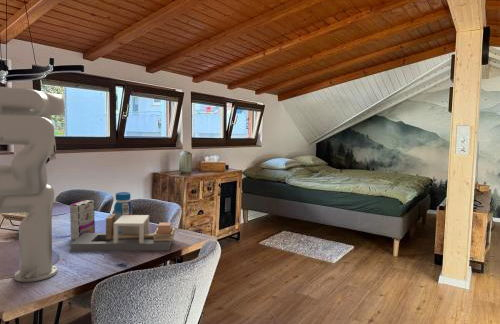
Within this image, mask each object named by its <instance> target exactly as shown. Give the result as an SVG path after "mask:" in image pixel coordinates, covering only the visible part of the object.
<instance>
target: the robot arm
mask: <svg viewBox="0 0 500 324" xmlns="http://www.w3.org/2000/svg"><path fill="white" fill-rule="evenodd" d="M65 104H66V103H65V99H64V98H63V95H62V94H57V93H51V92H46V91H42V90H41V91H40V90H37V89H33V88H23V87H22V88H21V87H11V86H0V145H8V146H9V145H10V146H11V145H14V146H15V145H16V146H19V145H20V146H21V145H22V146H23V145H24V147H23V148H22V149H20V150H19V151H18V152H17V153H16V154H15V155H14V156H13V157H12V159H11V164H0V214H17V213H27V214H26V216H25V217H24V218H23V219H22V220H21V221H20V223H19V224H18V247H19V248H18V251H19V257H18V258H19V270H17V271H16V272H15V273H14V274H13V276H14V277H13V278H14V280H15V281H18V282H22V283H27V282H30V283H31V282H32V283H33V282H38V281H43V280H46V279H49V278H51V277H53V276H55V275H56V274H57V273H58V267H57V266H56V265H53V225H52V223H53V221H52V220H53V219H52V218H53V209H54V208H53V207H54V201H55V190H54V187H52V186H51V185H50V184H48V172H47V171H48V170H47V164H49V162H50V161H52V160H56V159H57V157H56V155H57V145H56V137H55V127H54V123H53V122H52V116H62V115H63V113H64V111H65V106H66V105H65Z"/></svg>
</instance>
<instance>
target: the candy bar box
mask: <svg viewBox="0 0 500 324" xmlns="http://www.w3.org/2000/svg"><path fill="white" fill-rule="evenodd" d="M69 214H70V215H69V219H70V240H73V241H75V240H76V239H77V238H78V237H80V236H81V235H82V234H83V233H96V230H95V229H96V228H95V227H96V226H95V225H96V224H95V223H96V221H95V200H91V199H89V200H88V199H84V200H82V201H78V202H75V203H71V204H70V205H69Z"/></svg>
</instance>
